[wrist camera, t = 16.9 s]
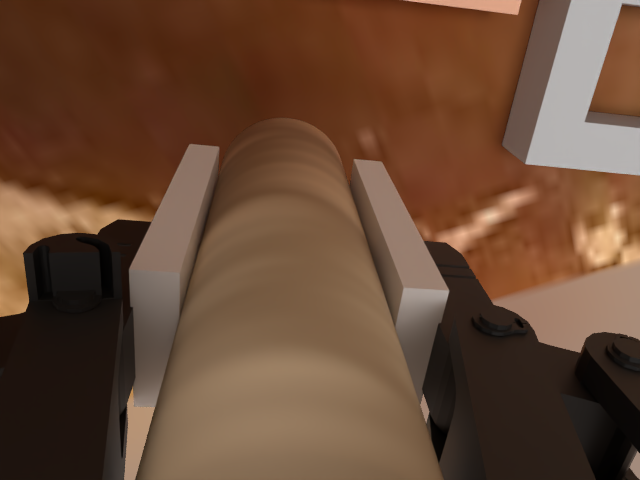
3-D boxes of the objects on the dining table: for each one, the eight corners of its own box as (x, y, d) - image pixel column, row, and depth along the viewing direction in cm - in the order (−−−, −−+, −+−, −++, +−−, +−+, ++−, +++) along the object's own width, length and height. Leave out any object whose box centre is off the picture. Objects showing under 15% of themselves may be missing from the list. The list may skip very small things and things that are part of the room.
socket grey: (501, 145, 28) (524, 163, 25) (554, -59, 24) (589, -64, 21) (670, 162, 29) (711, 182, 26) (748, -33, 25) (804, -33, 22)
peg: (215, 225, 17) (112, 675, 6) (226, 108, 15) (112, 440, 5) (332, 239, 17) (418, 678, 7) (353, 127, 16) (510, 466, 5)
